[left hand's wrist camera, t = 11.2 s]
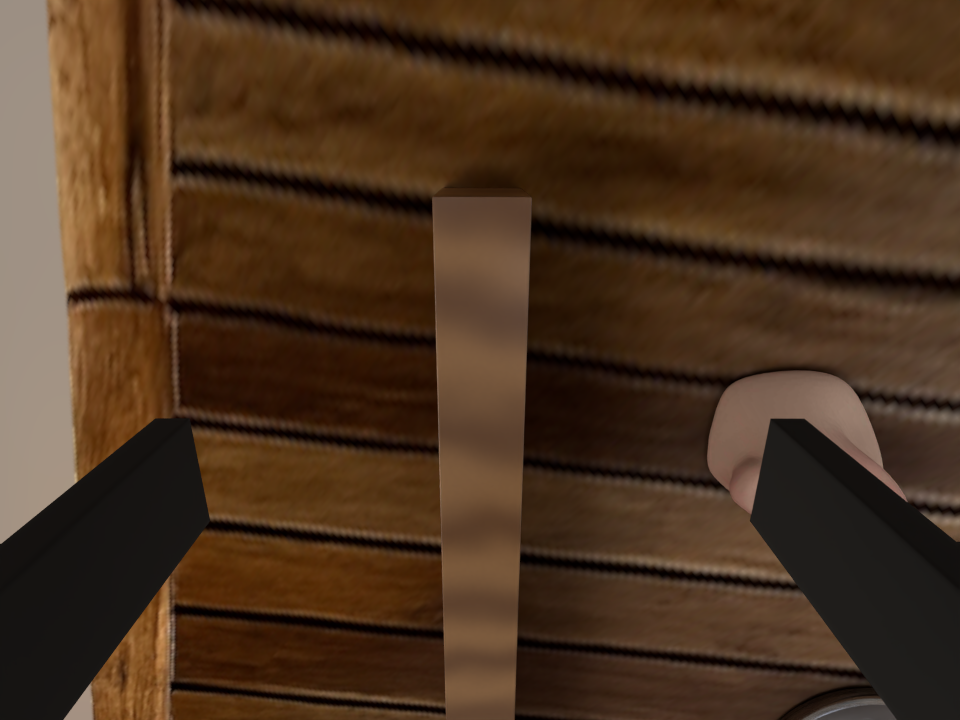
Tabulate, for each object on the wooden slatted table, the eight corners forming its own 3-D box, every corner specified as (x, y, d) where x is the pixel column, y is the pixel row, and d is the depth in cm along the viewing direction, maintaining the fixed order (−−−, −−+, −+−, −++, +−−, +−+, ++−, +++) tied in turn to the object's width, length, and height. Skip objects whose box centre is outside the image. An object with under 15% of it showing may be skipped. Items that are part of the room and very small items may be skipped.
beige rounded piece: (711, 421, 34) (905, 358, 32) (688, 395, 37) (861, 337, 36) (754, 584, 38) (927, 534, 37) (730, 546, 42) (886, 499, 40)
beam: (442, 187, 33) (432, 196, 26) (521, 188, 33) (532, 196, 26) (453, 744, 49) (449, 840, 42) (506, 744, 49) (510, 840, 42)
